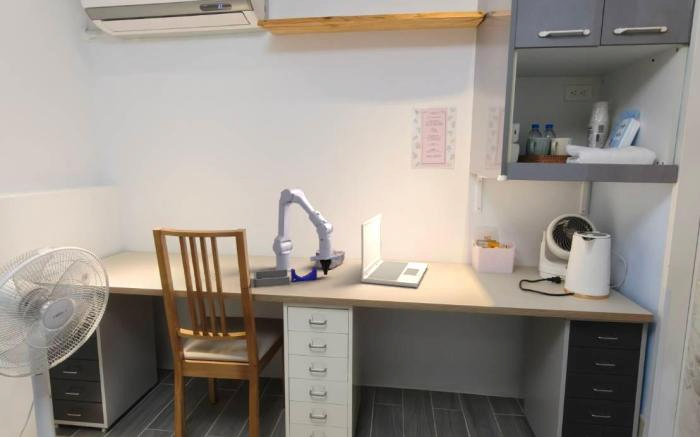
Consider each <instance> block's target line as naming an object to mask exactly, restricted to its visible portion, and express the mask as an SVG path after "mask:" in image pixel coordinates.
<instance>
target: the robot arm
mask: <svg viewBox="0 0 700 437" xmlns="http://www.w3.org/2000/svg"><path fill="white" fill-rule="evenodd" d="M292 204H298V205H299V206H300V207H301V208H302V210H304V211H305V212H306V214H307V215H308V220H309V221H310V222H311V223H312V224H313V226H314V227H315V228H316V234H317V235H318V242H319V243H318V247H319V248H318V250H319V256H316V255H314V256H309V262H316V261H320V263H321V265H322V268H321V269H322V271H323V275H324V276H328V272H329V266H330V264H331V260H336V259H338V260H340V255H331V248H332V233H333V231H334V227H333V224H332V223H331V222H329V221H327V220H326V219H325V218H324V217H323V216H322V213H321V212H320V211H318V210H315V209H314V208H313V206H312V205H311V204H310V202H309V200H308V199H307V198H306V196H305V192H303V190H302V189H301V188H300V187H294V188H285V189H283V190H282V191H281V192H280V198H279V200H278V218H277V219H278V220H277V222H278V223H277V224H278V226H277V230H278V231H277V236H275V238H274V239H273V244H272V251H273V253H274V254H275V262H276V264H275V265H276V266H274V268H275V270H282V269H287V272H291V269H292V267H291V251H292V249H293V247H294V246H293V245H294V244H293V242H292V240H293V238H292V237H291V236H290V235H289V234H290V211H291V210H290V206H291V205H292Z"/></svg>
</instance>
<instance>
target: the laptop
mask: <svg viewBox="0 0 700 437" xmlns="http://www.w3.org/2000/svg"><path fill="white" fill-rule="evenodd" d="M382 215H383V214H382V213H379V214H378V215H376V216H374V217H373V218H371V219H369V220H367V221H365V222H364V223H361V225H360V229H361V232H360V233H361V237H360V238H361V243H360V245H361V250H360V251H361V253H360V254H361V258H360V259H361V262H360V264H361V265H360V266H361V270H360V271H361V279H360V280H361V283H364V284H375V285H386V286H395V287H396V286H397V287H405V288H406V287H407V288H414V289H415V288H417V287H418V286H419V283H420V282H421V280H422V278H423V276H424V274H425V272H426V270H427V269H428V266H429V264H428V263H419V262H410V261H398V260H397V261H395V260H394V261H393V260H385V259H384V260H382Z"/></svg>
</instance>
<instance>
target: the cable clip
mask: <svg viewBox="0 0 700 437" xmlns="http://www.w3.org/2000/svg"><path fill="white" fill-rule="evenodd" d="M311 268H312V269H311V272H308V273H307V274H306V275H303V276H299V275H297V273H296V270H295V268H291V271H290V281H291V283H302V282H311V281H312V282H313V281H318V269H317V268H318V267H316V266H313V267H311Z"/></svg>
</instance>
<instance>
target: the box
mask: <svg viewBox="0 0 700 437" xmlns="http://www.w3.org/2000/svg"><path fill="white" fill-rule="evenodd" d="M286 276H287V277H286ZM271 277H274V278H271ZM256 278H261V279H256ZM290 281H291V278H290V276H288V271H287V269H282V270H276V269H271V270H270V269H269V270H258V271H257V270H256V271H255V270H254V271H253V285H254V288H260V287H259V286H264V287H272V286H273V287H274V286H275V285H277V286H287V285H288V286H289V285H290V283H291V282H290Z"/></svg>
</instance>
